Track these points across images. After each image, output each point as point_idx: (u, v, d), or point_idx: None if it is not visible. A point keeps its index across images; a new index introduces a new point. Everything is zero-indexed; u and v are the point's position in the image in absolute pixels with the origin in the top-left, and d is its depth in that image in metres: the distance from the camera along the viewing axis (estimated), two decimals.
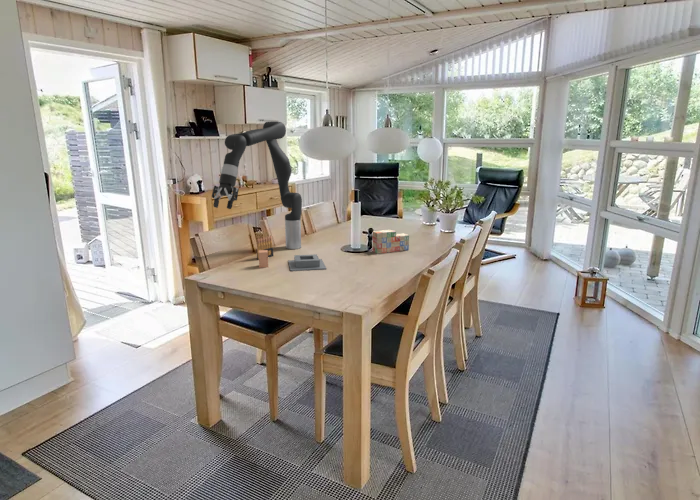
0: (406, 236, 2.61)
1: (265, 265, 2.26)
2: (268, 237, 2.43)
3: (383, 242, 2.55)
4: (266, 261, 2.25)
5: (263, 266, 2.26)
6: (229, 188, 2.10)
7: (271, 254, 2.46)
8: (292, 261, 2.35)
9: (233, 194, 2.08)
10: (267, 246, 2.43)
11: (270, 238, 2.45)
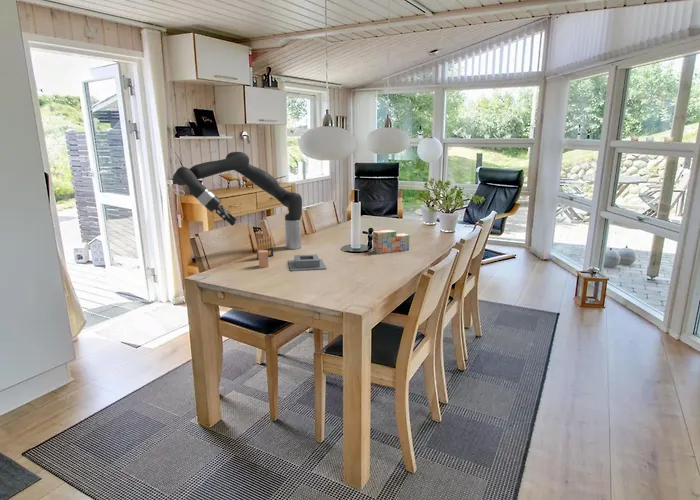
0: (406, 236, 2.61)
1: (265, 265, 2.26)
2: (268, 237, 2.43)
3: (384, 242, 2.55)
4: (266, 261, 2.25)
5: (263, 266, 2.26)
6: None
7: (271, 254, 2.46)
8: (292, 261, 2.35)
9: (221, 217, 2.13)
10: (267, 246, 2.43)
11: (270, 238, 2.45)
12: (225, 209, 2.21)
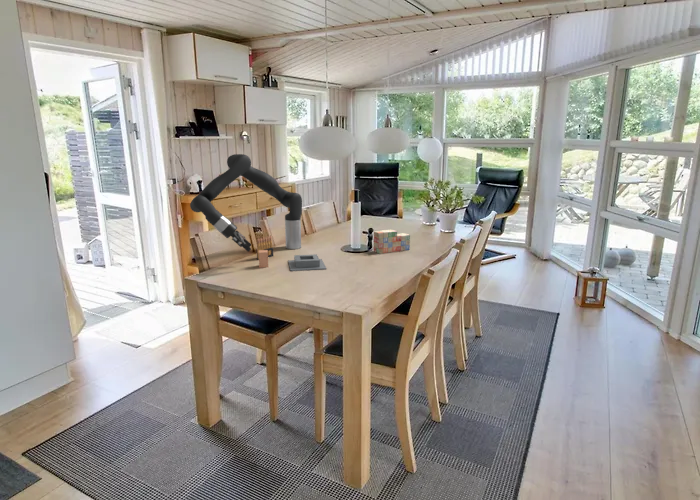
0: (407, 236, 2.62)
1: (265, 265, 2.26)
2: (268, 237, 2.43)
3: (385, 242, 2.55)
4: (266, 261, 2.25)
5: (263, 266, 2.26)
6: None
7: (271, 254, 2.46)
8: (292, 261, 2.35)
9: (237, 243, 2.16)
10: (267, 246, 2.43)
11: (270, 238, 2.45)
12: (241, 235, 2.24)
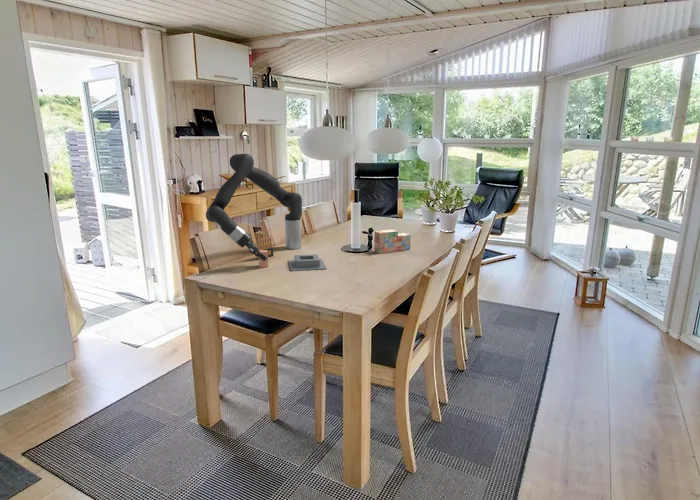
0: (408, 236, 2.62)
1: (265, 265, 2.26)
2: (268, 237, 2.43)
3: (385, 242, 2.56)
4: (266, 261, 2.25)
5: (263, 266, 2.26)
6: None
7: (271, 254, 2.46)
8: (292, 261, 2.35)
9: None
10: (267, 246, 2.43)
11: (270, 238, 2.45)
12: (255, 244, 2.26)
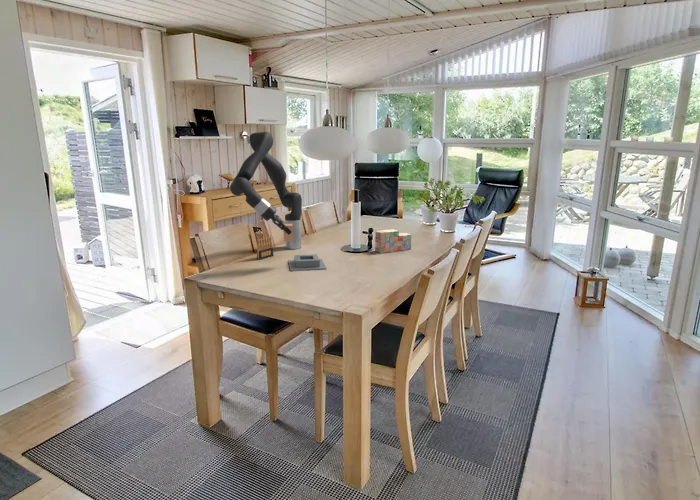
0: (408, 235, 2.63)
1: (290, 239, 2.24)
2: (268, 237, 2.43)
3: (386, 241, 2.56)
4: (291, 234, 2.23)
5: (288, 240, 2.24)
6: None
7: (271, 254, 2.46)
8: (292, 261, 2.35)
9: (279, 227, 2.18)
10: (267, 246, 2.43)
11: (270, 238, 2.45)
12: (280, 218, 2.24)
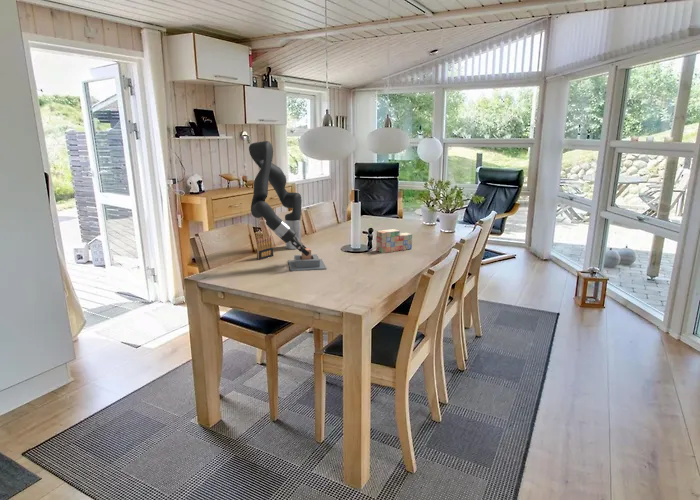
0: (409, 235, 2.63)
1: None
2: (268, 237, 2.43)
3: (387, 241, 2.57)
4: None
5: None
6: None
7: (271, 254, 2.46)
8: (292, 261, 2.35)
9: (297, 248, 2.20)
10: (267, 246, 2.43)
11: (270, 238, 2.45)
12: (298, 240, 2.28)
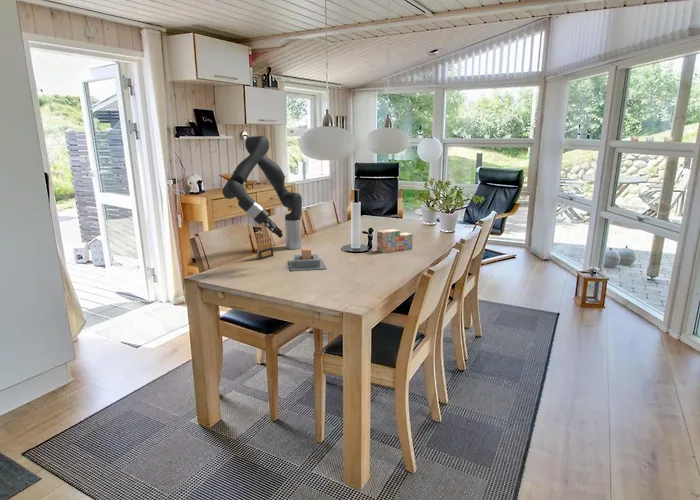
0: (410, 235, 2.64)
1: None
2: (268, 237, 2.43)
3: (388, 241, 2.57)
4: None
5: None
6: None
7: (271, 254, 2.46)
8: (292, 261, 2.35)
9: (270, 229, 2.15)
10: (267, 246, 2.43)
11: (270, 238, 2.45)
12: (272, 221, 2.23)
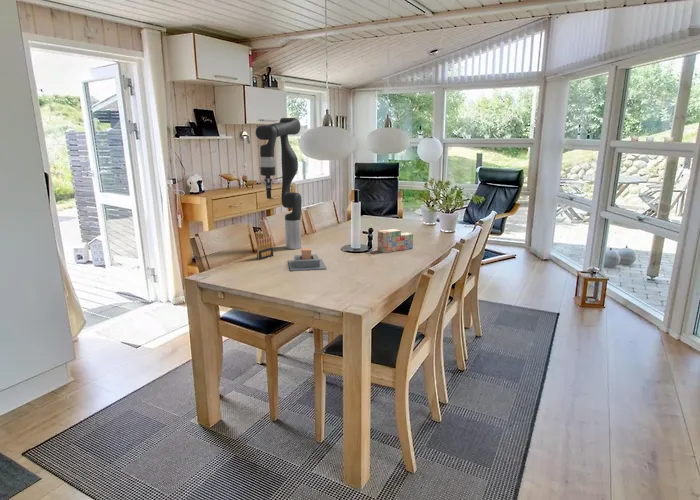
0: (410, 235, 2.64)
1: None
2: (268, 237, 2.43)
3: (389, 241, 2.57)
4: None
5: None
6: (266, 179, 2.24)
7: (271, 254, 2.46)
8: (292, 261, 2.35)
9: (266, 185, 2.22)
10: (267, 246, 2.43)
11: (270, 238, 2.45)
12: None
